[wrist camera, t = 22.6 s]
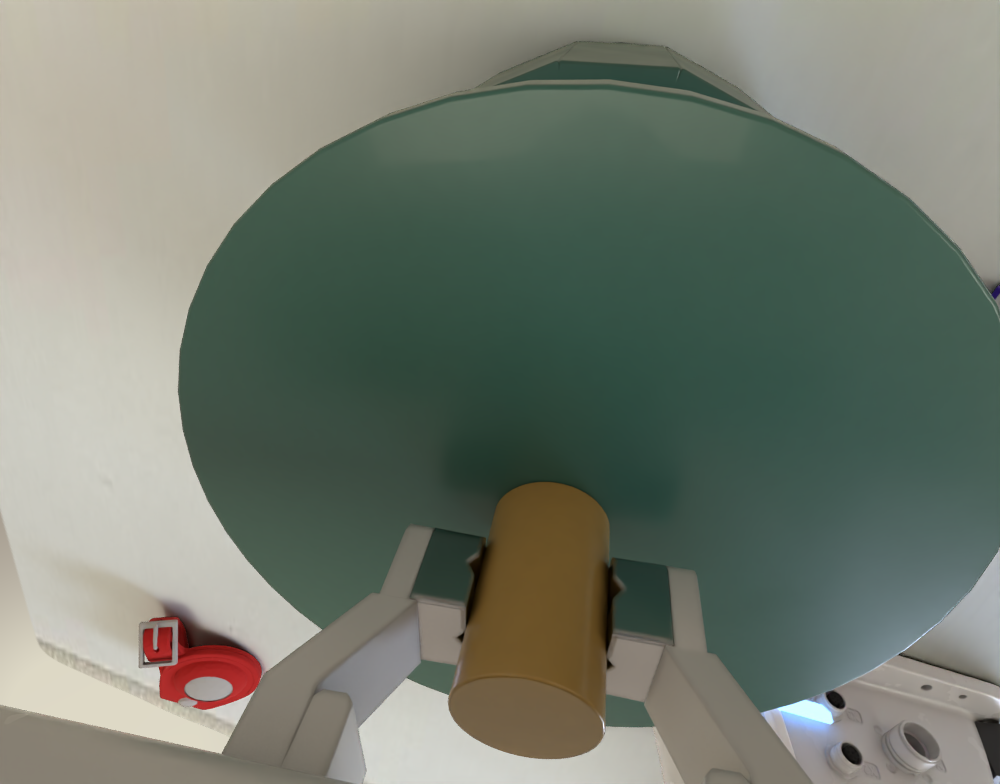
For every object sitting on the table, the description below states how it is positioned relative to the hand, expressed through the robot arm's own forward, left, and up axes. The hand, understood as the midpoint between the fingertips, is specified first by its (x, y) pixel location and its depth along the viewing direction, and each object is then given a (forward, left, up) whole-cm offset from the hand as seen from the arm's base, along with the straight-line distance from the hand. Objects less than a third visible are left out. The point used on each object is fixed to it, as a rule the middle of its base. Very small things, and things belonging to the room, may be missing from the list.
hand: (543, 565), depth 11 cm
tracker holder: (+29, +40, -17) cm, 52 cm away
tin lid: (0, 0, -2) cm, 2 cm away
